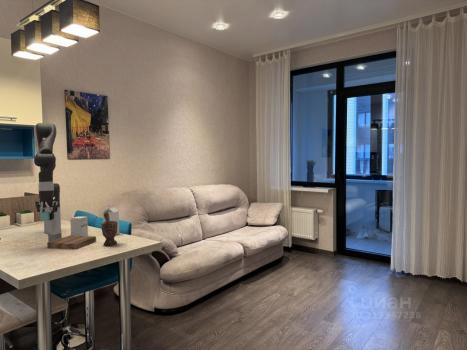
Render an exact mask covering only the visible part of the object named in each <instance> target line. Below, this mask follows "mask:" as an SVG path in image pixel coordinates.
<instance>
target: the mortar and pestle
mask: <svg viewBox="0 0 467 350" xmlns="http://www.w3.org/2000/svg"><path fill="white" fill-rule="evenodd" d="M104 212H105V211H104ZM104 218H105V220H106V222H104V221H103V222H101V224H100V226H101V232H102V233H101V234H102V236H103V237H104V238H105V241H104V242H103V245H102V246H106V247H113V246H117V245H118V241H117V240H116V239H115V237H116V236H117V235H118V234H117V228H118V227H117V221H110V217H109V213H108V212H105V213H104ZM116 234H117V235H116Z"/></svg>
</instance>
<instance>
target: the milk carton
mask: <svg viewBox="0 0 467 350" xmlns="http://www.w3.org/2000/svg"><path fill="white" fill-rule="evenodd" d="M105 212H108V213H109V217H110V221H117V227H118V228H117V234H116V236H117V235H119V234H120V218H119V217H120V215H119V214H120V211H119V210H118V209H117V208H116V207H115V206H114V204H113V205H109V206H107V207H106V208H105V210H104V211H103V213H102V214H103V215H102V217H103V222H106V220H105V218H104V213H105Z"/></svg>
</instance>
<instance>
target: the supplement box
mask: <svg viewBox="0 0 467 350" xmlns="http://www.w3.org/2000/svg"><path fill="white" fill-rule="evenodd" d="M69 219H70V220H69V221H70V223H69V224H70V235H72V236H89V225H88V224H89V223H88V216H75V217H70V218H69Z"/></svg>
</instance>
